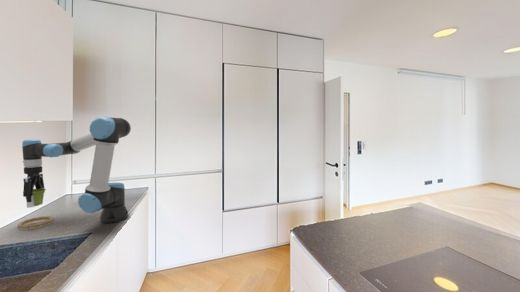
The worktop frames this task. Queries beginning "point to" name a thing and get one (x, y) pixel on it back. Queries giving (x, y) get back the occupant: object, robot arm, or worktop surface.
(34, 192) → the plant pot
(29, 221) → the round wooden tray
